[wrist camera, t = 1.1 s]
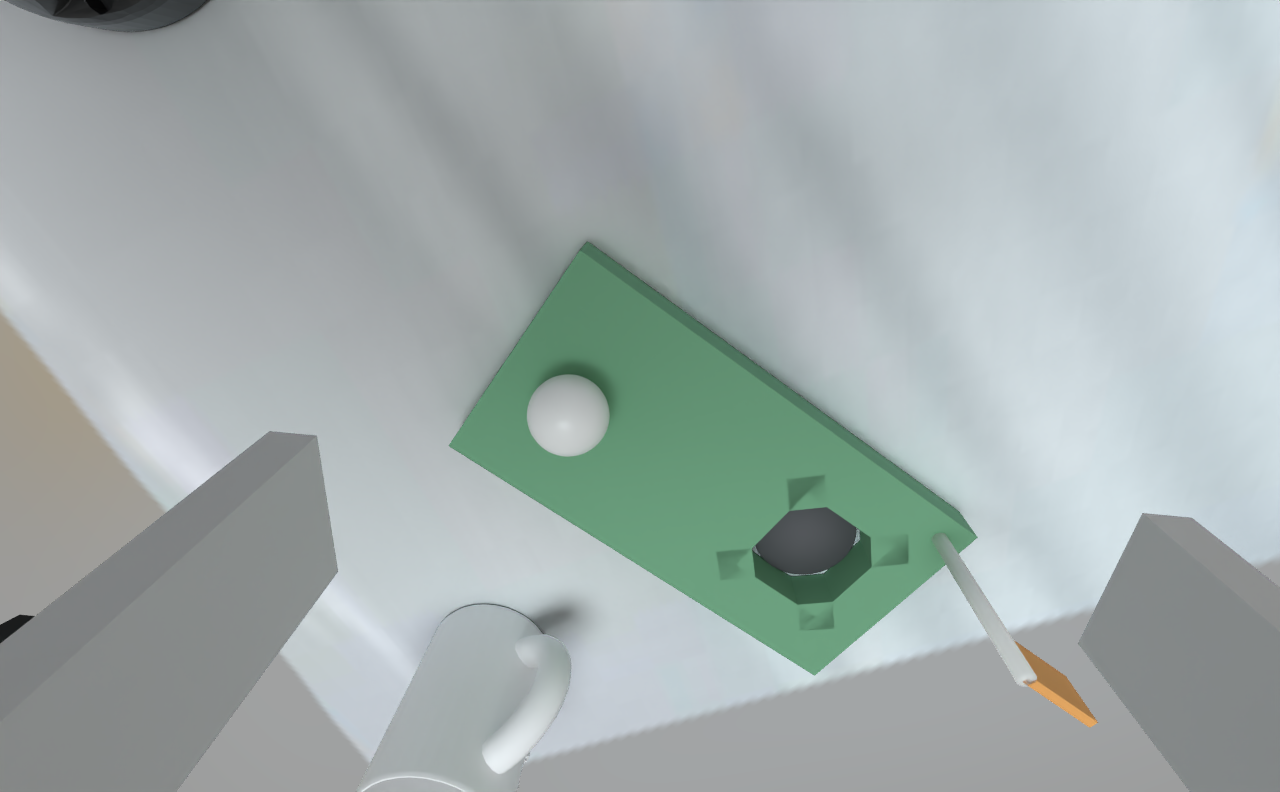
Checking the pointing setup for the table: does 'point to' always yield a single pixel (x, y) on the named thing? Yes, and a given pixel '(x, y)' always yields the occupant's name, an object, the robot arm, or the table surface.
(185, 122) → the table surface
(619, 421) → the green
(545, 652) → the mug
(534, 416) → the ball
